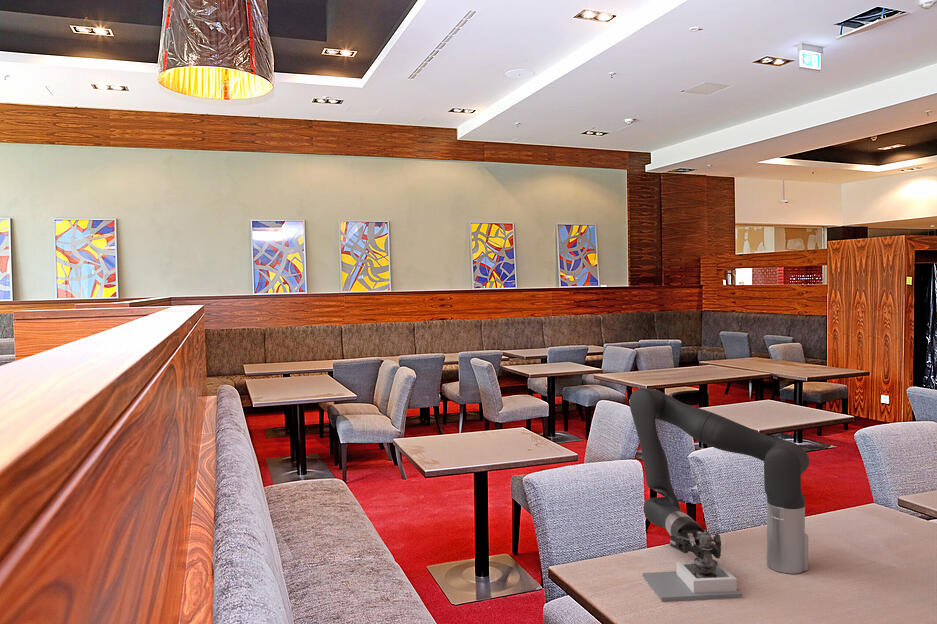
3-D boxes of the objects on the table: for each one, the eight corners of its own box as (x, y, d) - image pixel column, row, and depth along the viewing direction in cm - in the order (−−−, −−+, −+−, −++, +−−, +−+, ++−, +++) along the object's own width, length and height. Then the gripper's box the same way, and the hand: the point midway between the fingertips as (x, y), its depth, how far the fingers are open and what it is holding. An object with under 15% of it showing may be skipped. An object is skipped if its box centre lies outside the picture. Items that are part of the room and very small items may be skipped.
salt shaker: (719, 581, 168) (719, 534, 167) (694, 579, 169) (694, 532, 168) (715, 571, 174) (716, 525, 173) (691, 569, 175) (692, 524, 174)
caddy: (716, 573, 179) (716, 558, 178) (741, 597, 165) (741, 581, 165) (642, 576, 177) (642, 561, 177) (661, 601, 163) (661, 585, 163)
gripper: (658, 516, 185) (682, 541, 167) (708, 515, 186) (738, 539, 168) (658, 543, 185) (682, 571, 168) (708, 541, 186) (738, 568, 169)
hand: (710, 554), depth 168 cm, fingers closed on salt shaker, 3 cm apart
